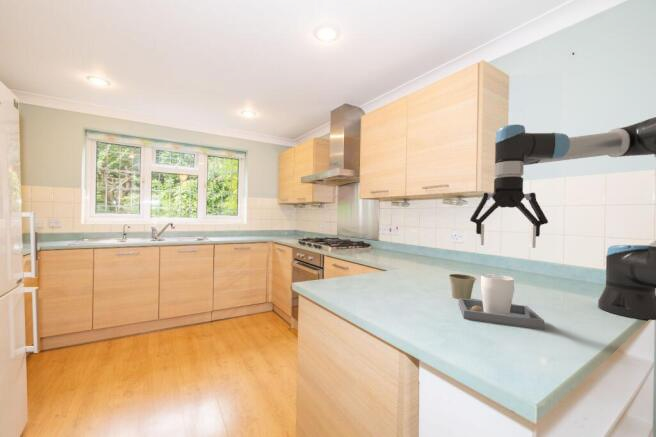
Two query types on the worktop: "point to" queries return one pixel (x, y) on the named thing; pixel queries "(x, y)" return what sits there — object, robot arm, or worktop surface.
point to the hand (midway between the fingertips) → (506, 246)
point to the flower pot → (461, 285)
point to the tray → (516, 317)
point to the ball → (477, 308)
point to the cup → (497, 293)
